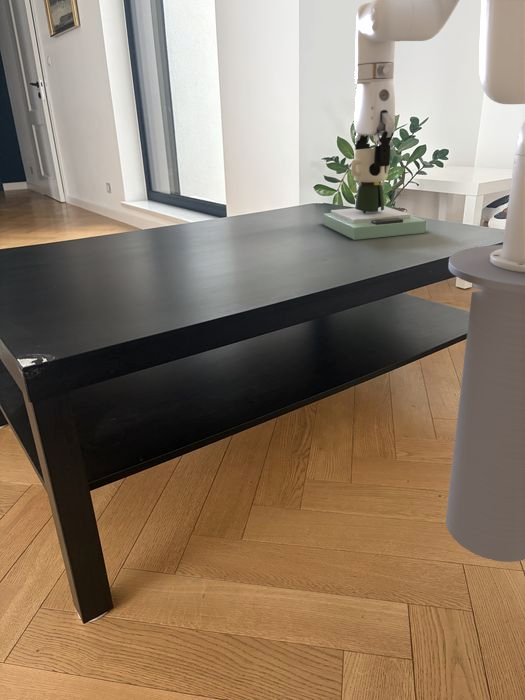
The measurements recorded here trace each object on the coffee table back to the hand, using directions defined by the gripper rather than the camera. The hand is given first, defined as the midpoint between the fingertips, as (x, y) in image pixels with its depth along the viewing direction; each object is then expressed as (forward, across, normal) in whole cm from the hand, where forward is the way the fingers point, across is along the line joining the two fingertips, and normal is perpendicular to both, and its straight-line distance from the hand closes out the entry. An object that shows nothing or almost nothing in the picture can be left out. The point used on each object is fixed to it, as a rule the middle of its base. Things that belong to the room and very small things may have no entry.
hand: (371, 164), depth 117 cm
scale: (+13, -1, 0) cm, 13 cm away
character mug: (+10, 0, 0) cm, 10 cm away
